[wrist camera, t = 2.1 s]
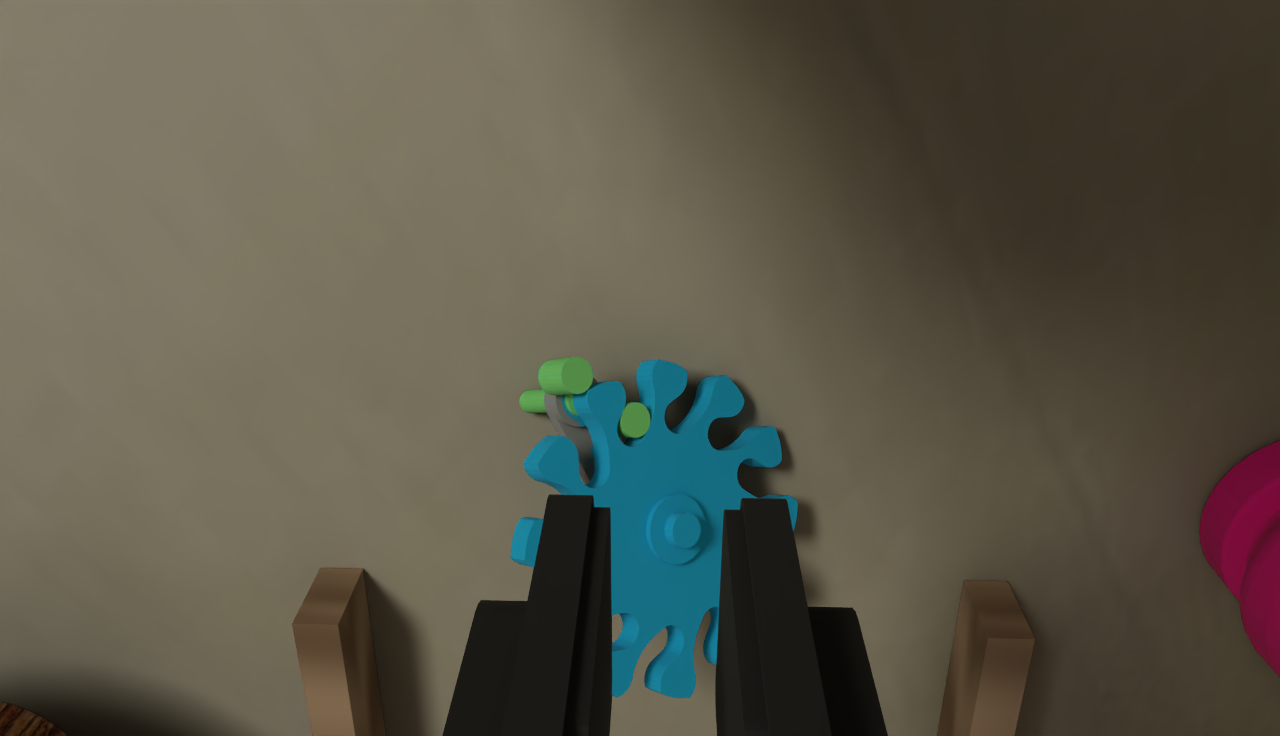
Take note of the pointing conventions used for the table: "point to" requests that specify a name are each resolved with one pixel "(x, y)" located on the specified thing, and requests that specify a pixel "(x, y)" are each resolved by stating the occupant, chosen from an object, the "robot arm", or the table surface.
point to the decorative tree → (24, 723)
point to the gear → (648, 501)
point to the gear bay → (351, 703)
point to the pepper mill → (1249, 544)
